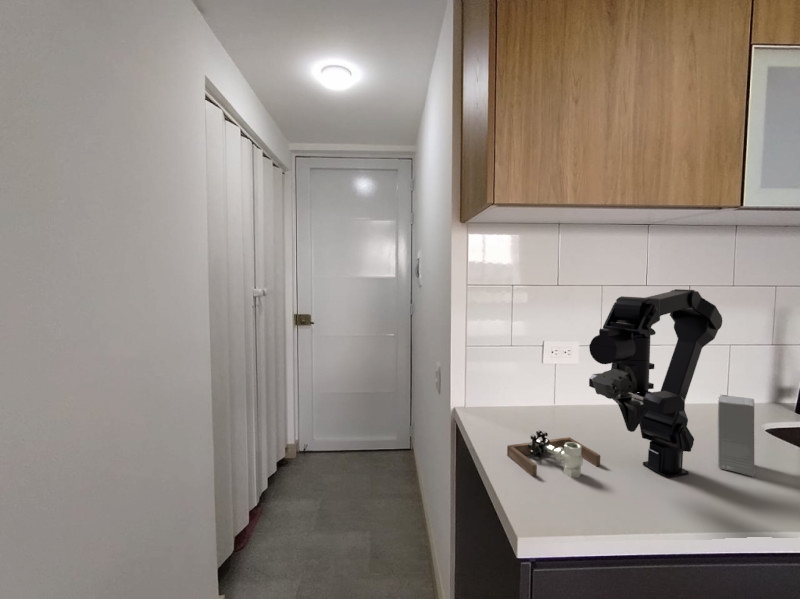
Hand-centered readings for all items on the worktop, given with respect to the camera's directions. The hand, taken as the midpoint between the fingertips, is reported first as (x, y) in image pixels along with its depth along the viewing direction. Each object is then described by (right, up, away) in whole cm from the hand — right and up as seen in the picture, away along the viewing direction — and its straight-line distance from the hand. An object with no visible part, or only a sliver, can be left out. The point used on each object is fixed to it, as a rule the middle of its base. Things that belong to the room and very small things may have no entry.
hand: (631, 431), depth 83 cm
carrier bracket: (-12, -11, +11) cm, 19 cm away
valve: (-12, -11, +9) cm, 19 cm away
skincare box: (+29, -11, +9) cm, 33 cm away
